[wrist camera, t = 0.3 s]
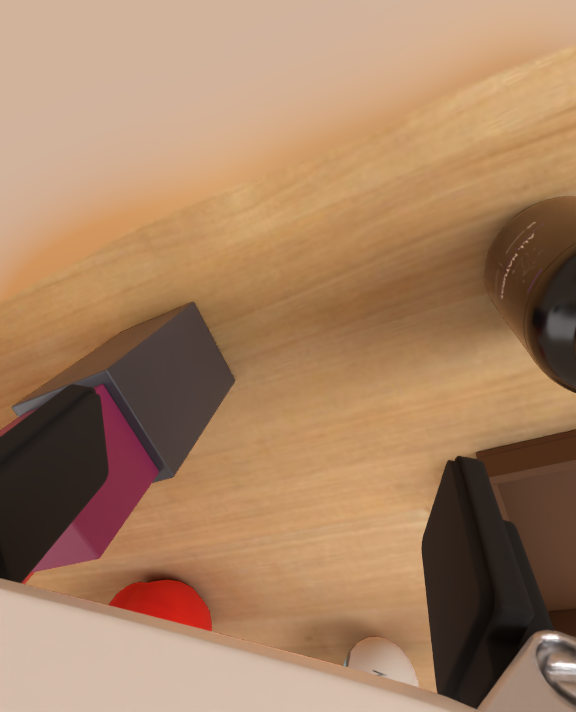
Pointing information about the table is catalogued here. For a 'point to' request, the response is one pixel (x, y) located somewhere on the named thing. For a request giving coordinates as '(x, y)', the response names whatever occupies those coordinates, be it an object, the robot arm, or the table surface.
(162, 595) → the tomato
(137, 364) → the bottom block
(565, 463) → the tray
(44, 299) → the table surface
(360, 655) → the figurine
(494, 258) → the supplement bottle
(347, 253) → the table surface
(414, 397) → the table surface
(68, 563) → the top block
